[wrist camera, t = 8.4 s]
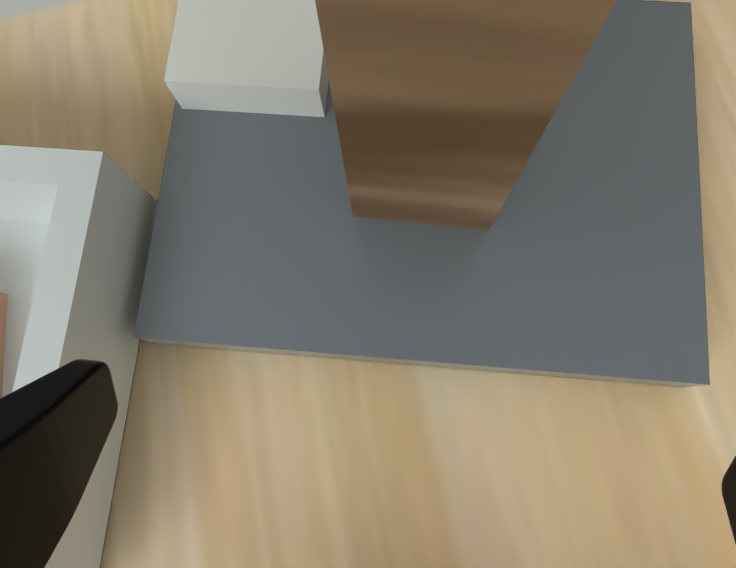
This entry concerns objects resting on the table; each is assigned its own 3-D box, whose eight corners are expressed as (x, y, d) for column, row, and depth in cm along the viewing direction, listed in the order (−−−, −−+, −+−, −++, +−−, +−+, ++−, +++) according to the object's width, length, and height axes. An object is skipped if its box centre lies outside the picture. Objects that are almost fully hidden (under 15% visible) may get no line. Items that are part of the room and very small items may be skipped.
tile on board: (324, 116, 17) (318, 89, 16) (182, 108, 18) (163, 81, 16) (338, -8, 18) (334, -45, 17) (203, -14, 19) (187, -51, 17)
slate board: (681, 387, 17) (709, 384, 15) (155, 343, 17) (133, 337, 16) (668, 33, 19) (690, 2, 18) (211, 10, 20) (197, -21, 19)
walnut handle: (489, 230, 16) (833, -393, 4) (353, 216, 17) (242, -416, 4) (498, 107, 17) (805, -738, 5) (369, 95, 17) (321, -739, 5)
